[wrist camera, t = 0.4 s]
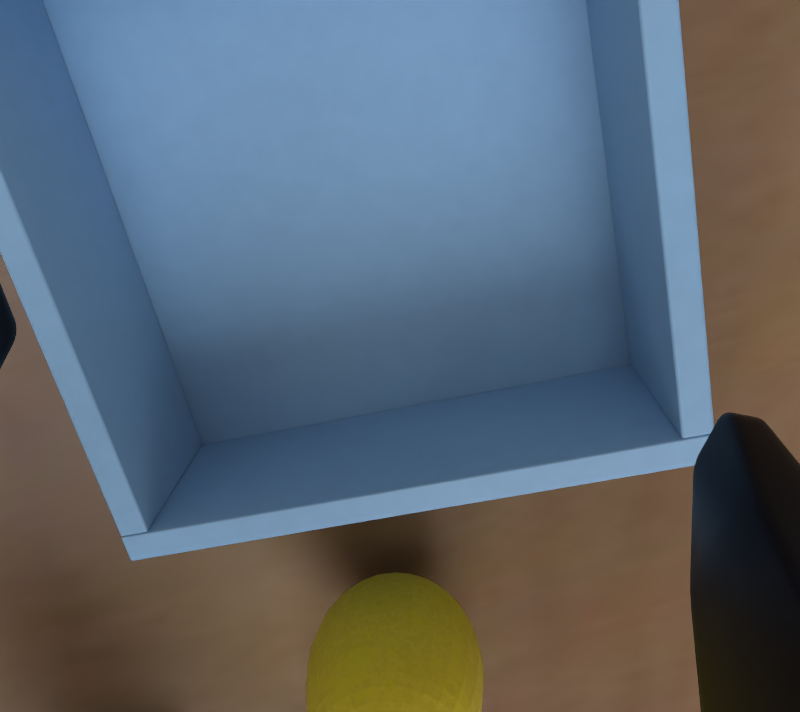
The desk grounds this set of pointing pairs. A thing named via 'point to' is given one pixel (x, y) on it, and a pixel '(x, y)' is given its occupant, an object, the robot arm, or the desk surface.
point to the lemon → (395, 651)
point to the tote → (353, 252)
